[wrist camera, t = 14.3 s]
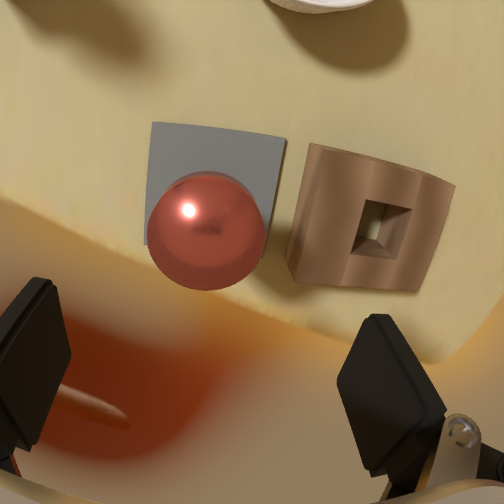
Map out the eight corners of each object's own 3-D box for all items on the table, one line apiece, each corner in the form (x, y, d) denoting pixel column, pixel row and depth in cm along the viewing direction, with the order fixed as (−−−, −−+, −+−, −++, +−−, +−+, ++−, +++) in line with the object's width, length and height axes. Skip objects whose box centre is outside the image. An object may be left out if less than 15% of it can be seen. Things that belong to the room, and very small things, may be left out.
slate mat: (284, 138, 23) (285, 138, 23) (262, 255, 27) (262, 257, 27) (153, 121, 22) (152, 122, 21) (144, 243, 26) (143, 244, 26)
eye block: (429, 173, 25) (455, 185, 22) (399, 270, 29) (418, 291, 26) (309, 142, 23) (325, 149, 20) (284, 258, 28) (294, 282, 24)
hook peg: (175, 149, 22) (150, 174, 14) (255, 159, 23) (275, 189, 15) (168, 224, 25) (145, 284, 17) (243, 232, 26) (254, 295, 18)
